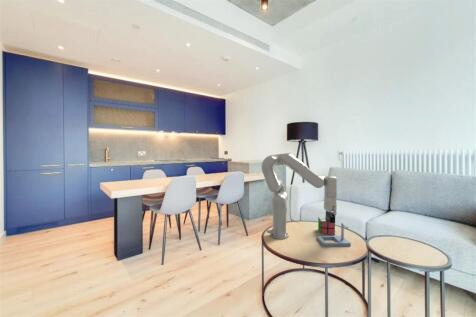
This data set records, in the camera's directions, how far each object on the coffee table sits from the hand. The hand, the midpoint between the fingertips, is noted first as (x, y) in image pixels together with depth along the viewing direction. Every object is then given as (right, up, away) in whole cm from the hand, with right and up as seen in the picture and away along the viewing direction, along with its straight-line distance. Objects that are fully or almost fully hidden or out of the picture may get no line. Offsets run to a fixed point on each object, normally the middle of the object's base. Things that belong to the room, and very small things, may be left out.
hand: (330, 220), depth 149 cm
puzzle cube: (+5, -14, +19) cm, 24 cm away
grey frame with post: (+2, -15, +1) cm, 15 cm away
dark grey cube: (0, -1, 0) cm, 1 cm away
